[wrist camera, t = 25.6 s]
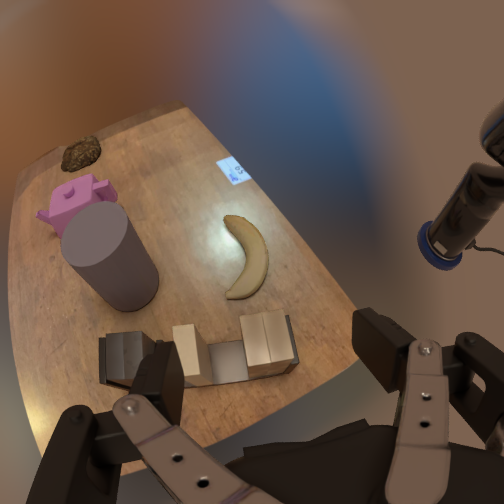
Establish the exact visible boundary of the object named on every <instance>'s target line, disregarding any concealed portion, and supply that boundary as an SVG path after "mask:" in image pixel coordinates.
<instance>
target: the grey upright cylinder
mask: <svg viewBox="0 0 504 504" xmlns="http://www.w3.org/2000/svg"><path fill="white" fill-rule="evenodd" d="M61 252H62V255H63V257H64V258H65V260H66V261H67V262H68V263H69V264H70V265H71V266H72V268H73V269H74V270H75V271H76V272H77V273H78V274H79V275H80V276H81V277H82V278H83V279H84V280H85V281H86V282H87V283H88V284H89V285H90V286H91V287H92V288H93V289H94V290H95V291H96V292H97V293H98V294H99V295H100V296H102V297H103V298H104V299H105V300H106V301H107V302H108V303H109V304H110V305H111V306H112V307H114V308H115V309H117V310H120V311H125V312H127V311H134V310H138V309H140V308H142V307H143V306H145V305H146V304H147V303H148V302H149V301H150V300H151V299H152V298H153V296H154V295H155V293H156V290H157V288H158V283H159V276H158V272H157V269H156V267H155V265H154V264H153V262H152V260H151V258H150V257H149V255H148V253H147V251H146V249H145V248H144V246H143V244H142V242H141V240H140V239H139V237H138V235H137V233H136V231H135V229H134V227H133V225H132V223H131V221H130V220H129V218H128V216H127V214H126V212H125V210H124V209H123V207H121V206H120V205H119V204H117V203H115V202H110V201H102V202H97V203H94V204H91V205H89V206H87V207H85V208H84V209H82V210H81V211H80V212H78V213H77V214H76V215H75V216H74V217H73V218H72V219H71V221H70V222H69V223H68V225H67V226H66V228H65V230H64V232H63V235H62V239H61Z"/></svg>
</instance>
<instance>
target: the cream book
mask: <svg viewBox="0 0 504 504" xmlns="http://www.w3.org/2000/svg"><path fill="white" fill-rule="evenodd" d="M172 328H173V339H174V342H175V344H176V347H177V350H178V354H179V357H180V361H181V364H182V368H183V371H184V377H185V381H187V382H189V383H191V384H193V385H195V386H205V385H213V384H214V382H213V376H212V369H211V362H210V356H209V349H208V346H207V344H206V343H205V341H204V339H203V338H202V336H201V335H200V333H199V332H198V330H197V328H196V327H195V325H194V324H187V325H179V326H173V327H172Z"/></svg>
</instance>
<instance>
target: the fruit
mask: <svg viewBox="0 0 504 504" xmlns="http://www.w3.org/2000/svg"><path fill="white" fill-rule="evenodd" d="M223 221H224V223H225V225H226V226H227V228H228V229H229V230H230V231H231V232H232V233H233V234H234V235H235V236H236V237H237V238H238V240H239V241H240V242H241V244H242V245H243V247H244V250H245V253H246V264H245V267H244V270H243V272H242V273H241V275H240V276H239V278H238V279H237V280H236V282H235V283H234V284H233V286H232V287H231V289H230V290H228V291H227V292H225V295H226V298H227V299H240V298H246V297H248V296H250V295H252V294H253V293H254V292H255V291H256V290H257V289H258V288H259V287H260V285H261V284H262V282H263V280H264V278H265V275H266V272H267V269H268V260H269V257H268V250H267V246H266V243H265V241H264V239H263V237H262V235H261V233H260V232H259V230H258V229H257V228H256V227H255V226H254V225H253V224H252V223H250V222H249V221H247V220H246V219H245V218H244V217H240V216H235V215H226V216H225V217H224V219H223Z"/></svg>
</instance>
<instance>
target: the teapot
mask: <svg viewBox="0 0 504 504" xmlns="http://www.w3.org/2000/svg"><path fill="white" fill-rule="evenodd" d="M116 200H117V193H116V191H115V189H114V188H113V186H112V184H111V183H110V181H109V179H107V180H103V181H100V182H99V181H98V180H97V179H96V177H95V176H94V175H93V174H87V175H84V176H81V177H78V178H76V179H73V180H71V181H69V182H67V183H65V184H63V185H61V186H59V187H57V188H55V189H54V190H53V193H52V197H51V203H50V209H49V211H44V210H40V211H38V212H37V213H36V218H38V219H40V220H42V221H44V222H46V223H48V224H50V225H52V226H53V228H54V230H55V231H56V233H57V235H58V236H59V238H60V239H62V235H63V232H64V230H65V228H66V226H67V225H68V223H69V222H70V221H71V219H72V218H73V217H74V216H75V215H76V214H77V213H78V212H80V211H81V210H82V209H84V208H85V207H87V206H89V205H91V204H94V203H97V202H102V201H110V202H115V201H116Z"/></svg>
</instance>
